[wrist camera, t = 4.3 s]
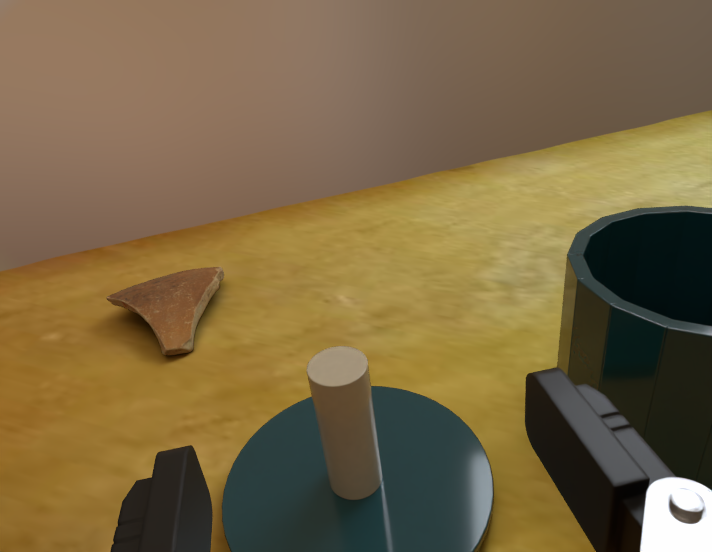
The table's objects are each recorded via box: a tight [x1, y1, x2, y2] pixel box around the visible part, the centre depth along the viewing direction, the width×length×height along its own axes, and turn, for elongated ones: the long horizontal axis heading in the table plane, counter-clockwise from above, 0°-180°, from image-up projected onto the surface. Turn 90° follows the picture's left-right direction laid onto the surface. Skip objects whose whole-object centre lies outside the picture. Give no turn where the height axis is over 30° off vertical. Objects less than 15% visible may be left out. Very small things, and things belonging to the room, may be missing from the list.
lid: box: [222, 346, 494, 552], centre depth 28 cm, size 14×14×9 cm
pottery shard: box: [107, 267, 224, 355], centre depth 47 cm, size 10×9×2 cm
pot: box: [557, 206, 712, 491], centre depth 31 cm, size 13×13×10 cm
